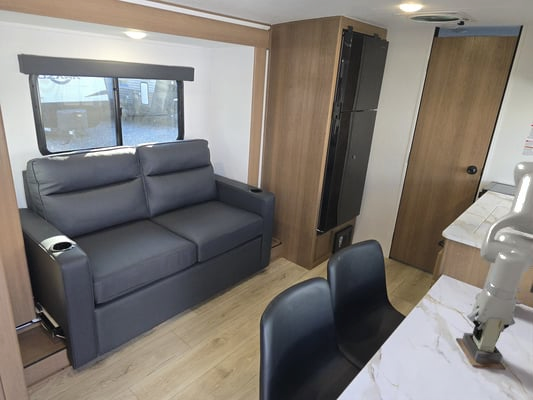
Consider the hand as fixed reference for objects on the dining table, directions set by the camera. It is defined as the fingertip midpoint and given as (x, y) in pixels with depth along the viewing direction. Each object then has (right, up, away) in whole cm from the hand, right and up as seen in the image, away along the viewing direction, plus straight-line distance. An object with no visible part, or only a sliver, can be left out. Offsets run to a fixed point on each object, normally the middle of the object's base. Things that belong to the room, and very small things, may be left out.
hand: (484, 337), depth 114 cm
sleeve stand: (-1, -6, +2) cm, 7 cm away
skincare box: (0, -3, +1) cm, 3 cm away
